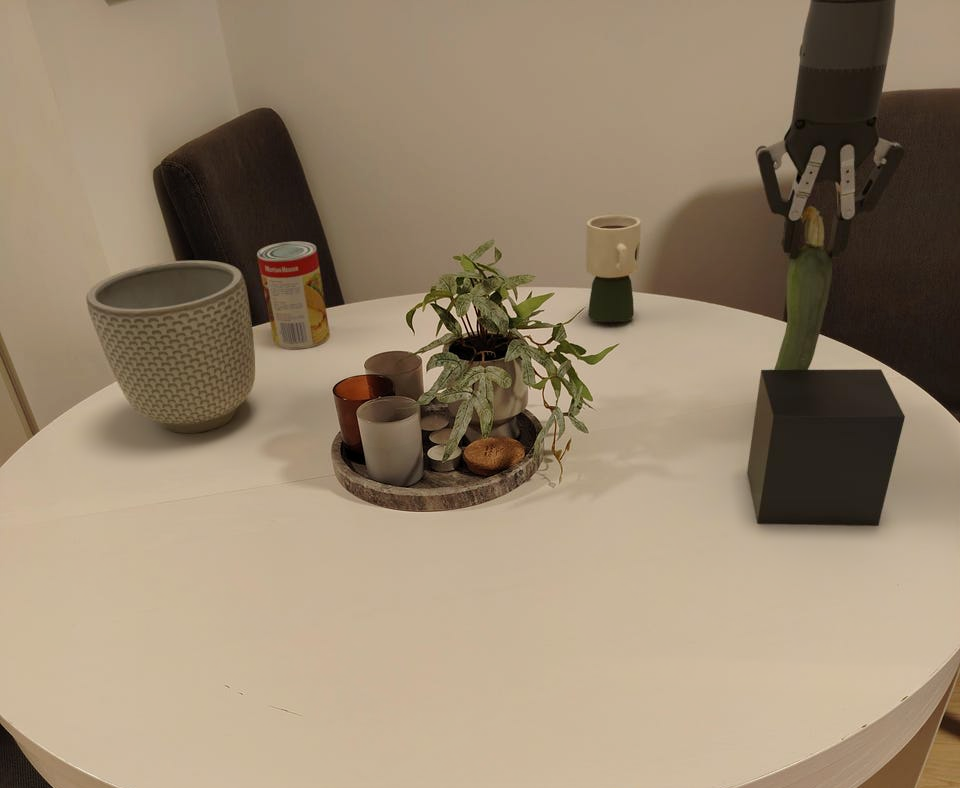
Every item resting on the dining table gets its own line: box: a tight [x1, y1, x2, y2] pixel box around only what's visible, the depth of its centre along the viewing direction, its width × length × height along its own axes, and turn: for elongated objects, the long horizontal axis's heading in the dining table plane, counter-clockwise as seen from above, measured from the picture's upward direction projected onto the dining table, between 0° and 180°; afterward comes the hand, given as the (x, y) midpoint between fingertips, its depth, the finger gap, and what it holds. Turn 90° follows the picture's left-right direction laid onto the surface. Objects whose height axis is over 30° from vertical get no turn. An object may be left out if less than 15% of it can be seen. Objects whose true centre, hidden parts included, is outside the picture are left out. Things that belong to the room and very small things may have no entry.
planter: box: [85, 259, 256, 434], centre depth 110 cm, size 17×17×16 cm
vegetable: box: [773, 205, 833, 370], centre depth 99 cm, size 4×4×20 cm
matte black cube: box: [746, 368, 906, 526], centre depth 90 cm, size 11×12×11 cm
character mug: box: [585, 214, 642, 324], centre depth 128 cm, size 11×7×13 cm, turn 9°
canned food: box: [256, 240, 331, 350], centre depth 129 cm, size 8×8×12 cm
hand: (812, 255), depth 96 cm, fingers closed on vegetable, 3 cm apart
